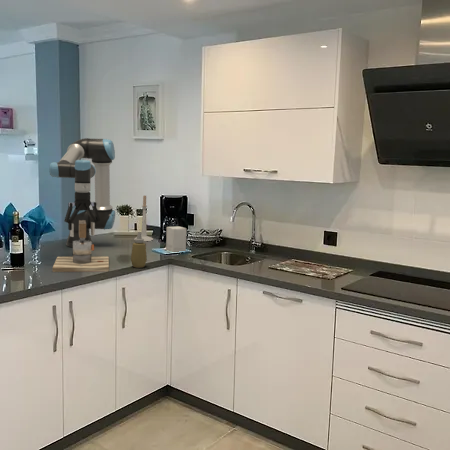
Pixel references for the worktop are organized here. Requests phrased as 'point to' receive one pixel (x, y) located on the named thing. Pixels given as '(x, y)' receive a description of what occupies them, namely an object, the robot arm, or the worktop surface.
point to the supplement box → (176, 239)
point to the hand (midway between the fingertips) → (82, 235)
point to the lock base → (81, 264)
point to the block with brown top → (82, 241)
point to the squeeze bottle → (138, 252)
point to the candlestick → (144, 223)
